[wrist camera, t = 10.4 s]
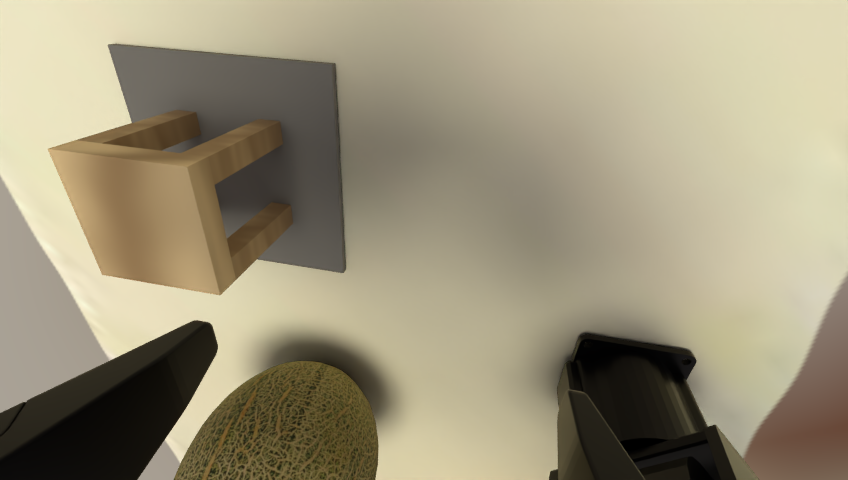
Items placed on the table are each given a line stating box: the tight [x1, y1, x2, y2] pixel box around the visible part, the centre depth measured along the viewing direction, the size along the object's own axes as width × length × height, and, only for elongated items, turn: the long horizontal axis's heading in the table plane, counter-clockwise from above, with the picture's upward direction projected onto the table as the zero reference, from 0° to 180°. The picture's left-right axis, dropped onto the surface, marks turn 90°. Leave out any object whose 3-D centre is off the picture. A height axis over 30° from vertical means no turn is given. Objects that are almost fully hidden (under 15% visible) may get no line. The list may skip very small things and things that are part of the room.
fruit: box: [174, 361, 378, 480], centre depth 25 cm, size 11×11×15 cm
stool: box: [48, 110, 293, 295], centre depth 20 cm, size 6×6×7 cm
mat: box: [108, 44, 346, 273], centre depth 23 cm, size 12×12×1 cm
